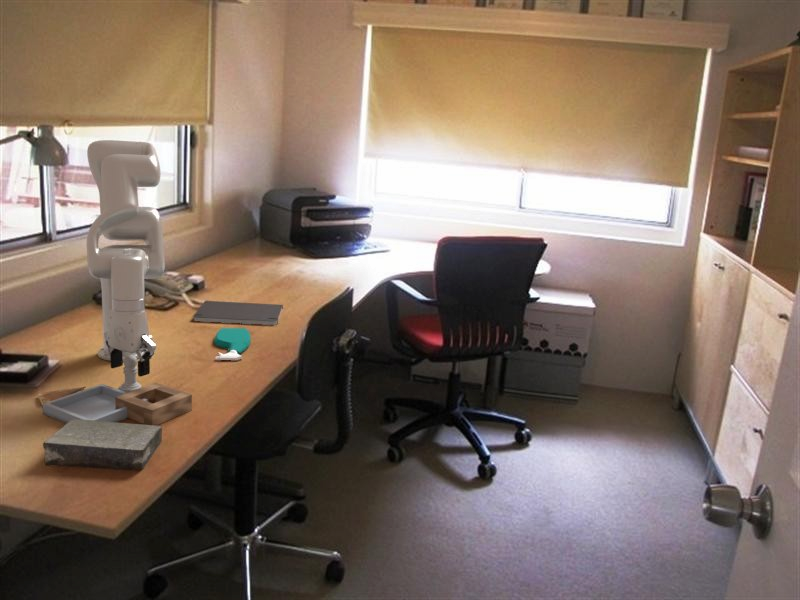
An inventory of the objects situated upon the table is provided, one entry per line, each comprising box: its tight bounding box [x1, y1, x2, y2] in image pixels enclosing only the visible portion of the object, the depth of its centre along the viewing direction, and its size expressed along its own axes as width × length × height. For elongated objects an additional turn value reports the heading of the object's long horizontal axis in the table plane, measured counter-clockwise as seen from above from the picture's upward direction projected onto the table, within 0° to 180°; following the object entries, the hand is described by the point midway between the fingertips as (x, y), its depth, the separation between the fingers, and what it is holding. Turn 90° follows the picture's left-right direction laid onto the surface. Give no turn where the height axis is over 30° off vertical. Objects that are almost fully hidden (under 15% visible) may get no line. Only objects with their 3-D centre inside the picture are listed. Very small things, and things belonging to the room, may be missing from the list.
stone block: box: [42, 419, 163, 471], centre depth 147 cm, size 14×20×5 cm
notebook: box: [192, 300, 284, 326], centre depth 251 cm, size 22×2×28 cm
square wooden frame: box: [115, 382, 193, 426], centre depth 168 cm, size 12×12×4 cm
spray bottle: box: [213, 327, 252, 361], centre depth 216 cm, size 3×11×24 cm
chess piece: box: [118, 355, 143, 393], centre depth 179 cm, size 5×5×9 cm
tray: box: [42, 383, 148, 424], centre depth 166 cm, size 16×16×2 cm
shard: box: [37, 386, 87, 407], centre depth 172 cm, size 11×8×2 cm
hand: (130, 370), depth 179 cm, fingers open, 9 cm apart
